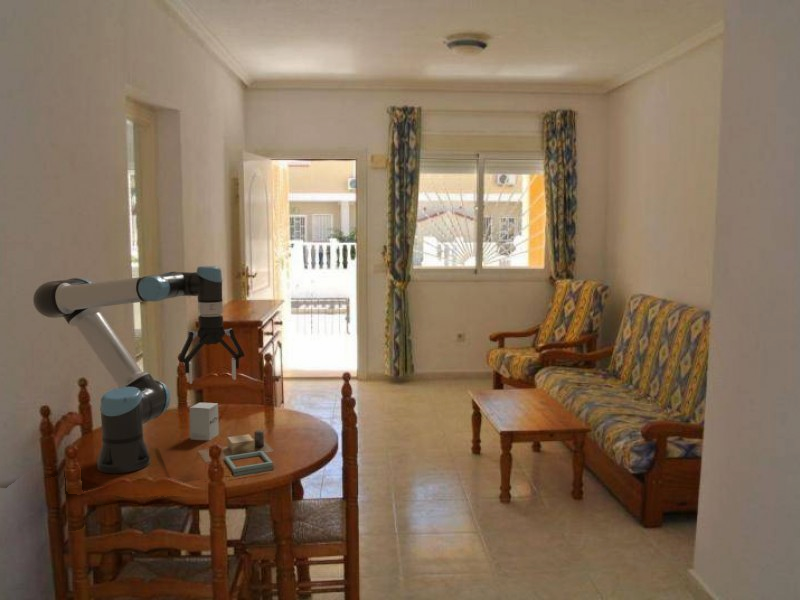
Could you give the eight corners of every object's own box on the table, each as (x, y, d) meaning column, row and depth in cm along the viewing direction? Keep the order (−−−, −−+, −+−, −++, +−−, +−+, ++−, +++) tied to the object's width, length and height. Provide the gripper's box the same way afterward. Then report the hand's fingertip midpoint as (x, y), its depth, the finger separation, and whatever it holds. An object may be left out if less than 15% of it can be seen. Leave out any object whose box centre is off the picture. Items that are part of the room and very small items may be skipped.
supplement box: (209, 444, 227) (208, 408, 225) (189, 443, 228) (188, 407, 227) (219, 438, 234) (218, 402, 232) (200, 436, 235) (199, 401, 234)
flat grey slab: (204, 466, 206) (204, 446, 205) (197, 455, 216) (196, 435, 216) (274, 455, 216) (273, 436, 215) (264, 445, 226) (263, 426, 226)
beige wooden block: (232, 453, 213) (232, 443, 213) (228, 447, 219) (227, 437, 219) (254, 450, 216) (254, 440, 216) (249, 444, 222) (248, 434, 222)
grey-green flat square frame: (233, 477, 197) (233, 468, 197) (224, 464, 208) (224, 456, 208) (273, 470, 203) (273, 462, 202) (262, 458, 213) (262, 450, 213)
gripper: (170, 318, 202) (173, 387, 205) (252, 314, 213) (254, 379, 215) (167, 315, 209) (170, 382, 211) (247, 311, 220) (248, 374, 222)
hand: (212, 380), depth 213 cm, fingers open, 13 cm apart
